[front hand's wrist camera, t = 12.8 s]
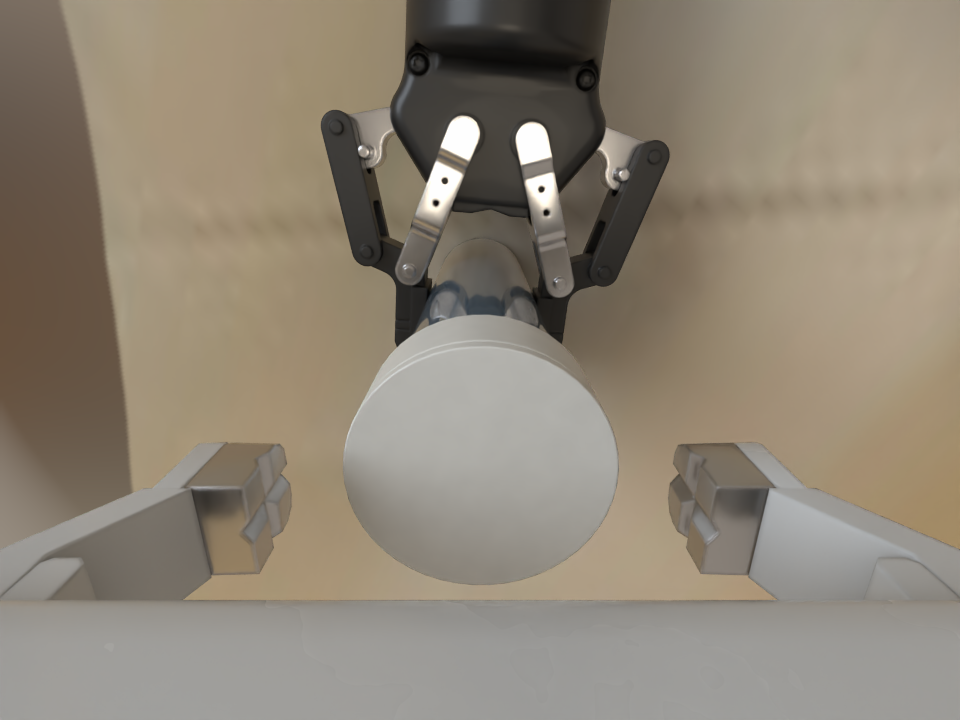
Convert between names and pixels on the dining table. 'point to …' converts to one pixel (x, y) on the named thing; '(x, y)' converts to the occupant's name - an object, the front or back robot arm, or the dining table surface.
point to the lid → (480, 453)
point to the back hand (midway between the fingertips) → (476, 363)
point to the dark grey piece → (481, 286)
